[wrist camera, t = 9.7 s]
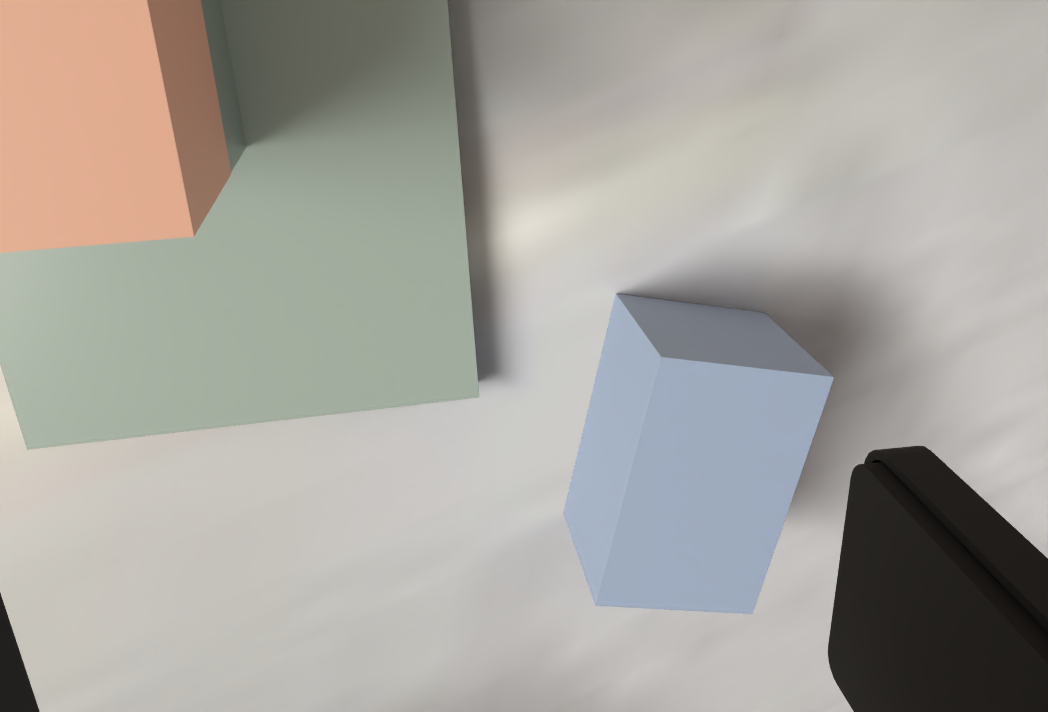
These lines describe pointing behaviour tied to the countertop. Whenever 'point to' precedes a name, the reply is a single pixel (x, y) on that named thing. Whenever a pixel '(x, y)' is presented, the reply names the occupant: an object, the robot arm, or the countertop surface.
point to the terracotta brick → (106, 122)
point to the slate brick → (690, 454)
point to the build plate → (272, 247)
